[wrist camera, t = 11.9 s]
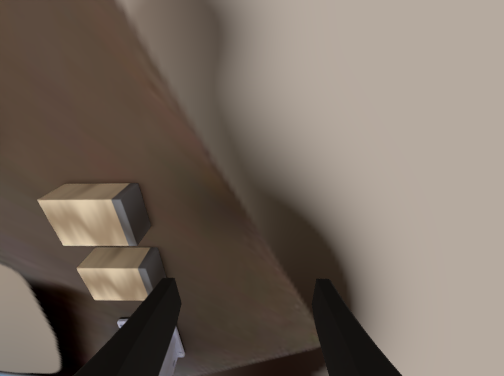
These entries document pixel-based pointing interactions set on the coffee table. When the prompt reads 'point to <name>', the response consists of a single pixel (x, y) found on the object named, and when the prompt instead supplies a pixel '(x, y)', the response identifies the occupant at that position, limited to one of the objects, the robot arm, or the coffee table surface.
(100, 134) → the coffee table surface
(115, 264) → the beech tile
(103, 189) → the beech tile
